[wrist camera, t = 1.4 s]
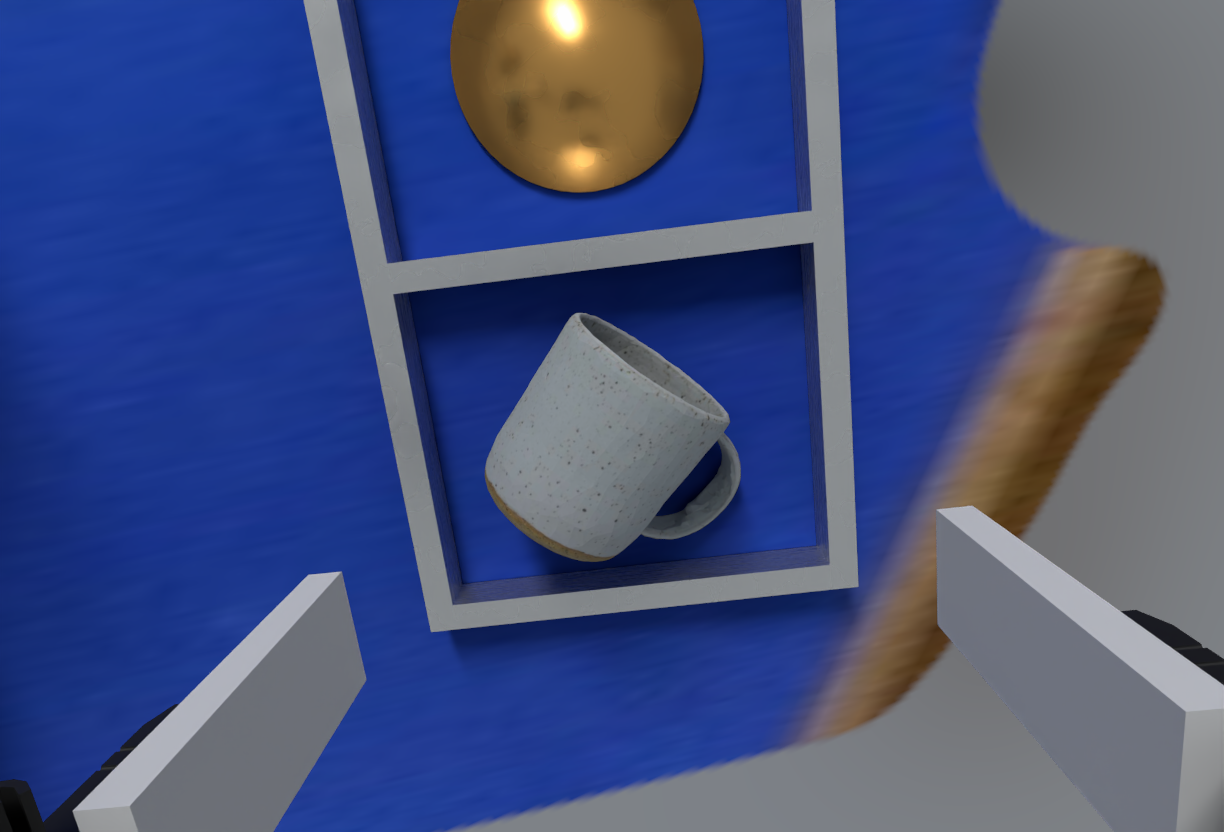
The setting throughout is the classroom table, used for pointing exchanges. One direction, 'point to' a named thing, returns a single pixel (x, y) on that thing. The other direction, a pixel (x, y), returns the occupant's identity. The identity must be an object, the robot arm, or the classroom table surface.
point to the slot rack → (595, 258)
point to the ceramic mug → (607, 446)
